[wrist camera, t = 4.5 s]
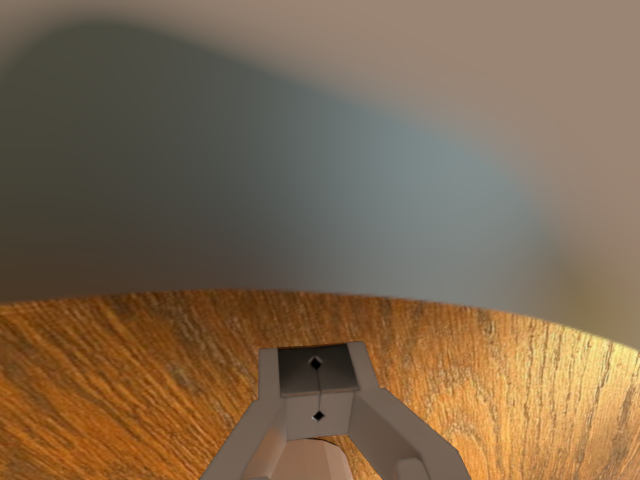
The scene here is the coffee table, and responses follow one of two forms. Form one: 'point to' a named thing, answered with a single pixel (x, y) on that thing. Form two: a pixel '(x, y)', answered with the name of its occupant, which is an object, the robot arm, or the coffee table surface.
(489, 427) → the coffee table surface
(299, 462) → the shot glass
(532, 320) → the coffee table surface
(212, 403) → the coffee table surface
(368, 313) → the coffee table surface
